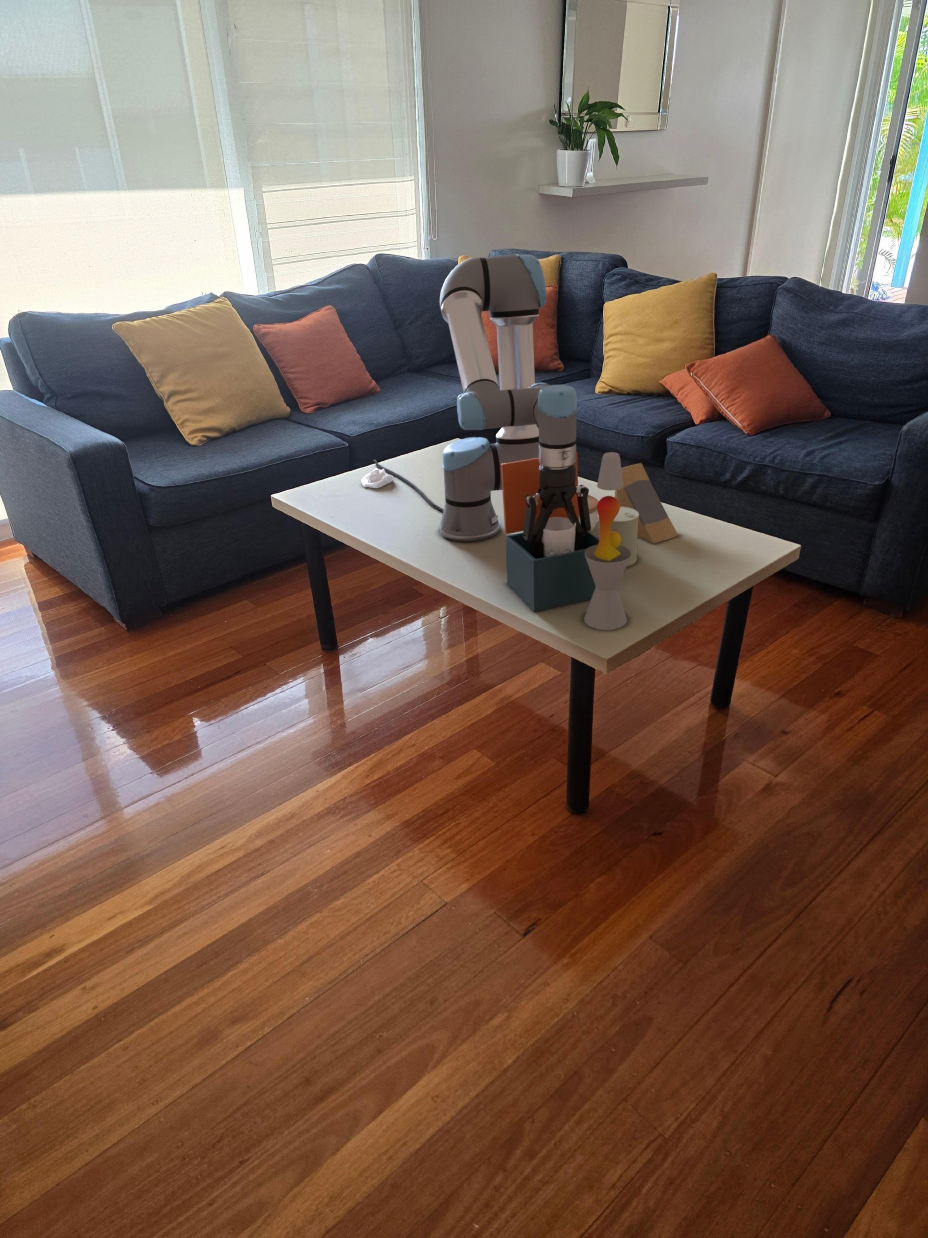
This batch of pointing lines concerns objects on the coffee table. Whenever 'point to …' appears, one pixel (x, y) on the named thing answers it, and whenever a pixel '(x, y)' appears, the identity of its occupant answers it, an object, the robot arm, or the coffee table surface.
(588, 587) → the container
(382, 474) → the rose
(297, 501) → the coffee table surface
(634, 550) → the can
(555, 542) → the white cup
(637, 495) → the sandwich container
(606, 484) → the lava lamp
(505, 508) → the lid
